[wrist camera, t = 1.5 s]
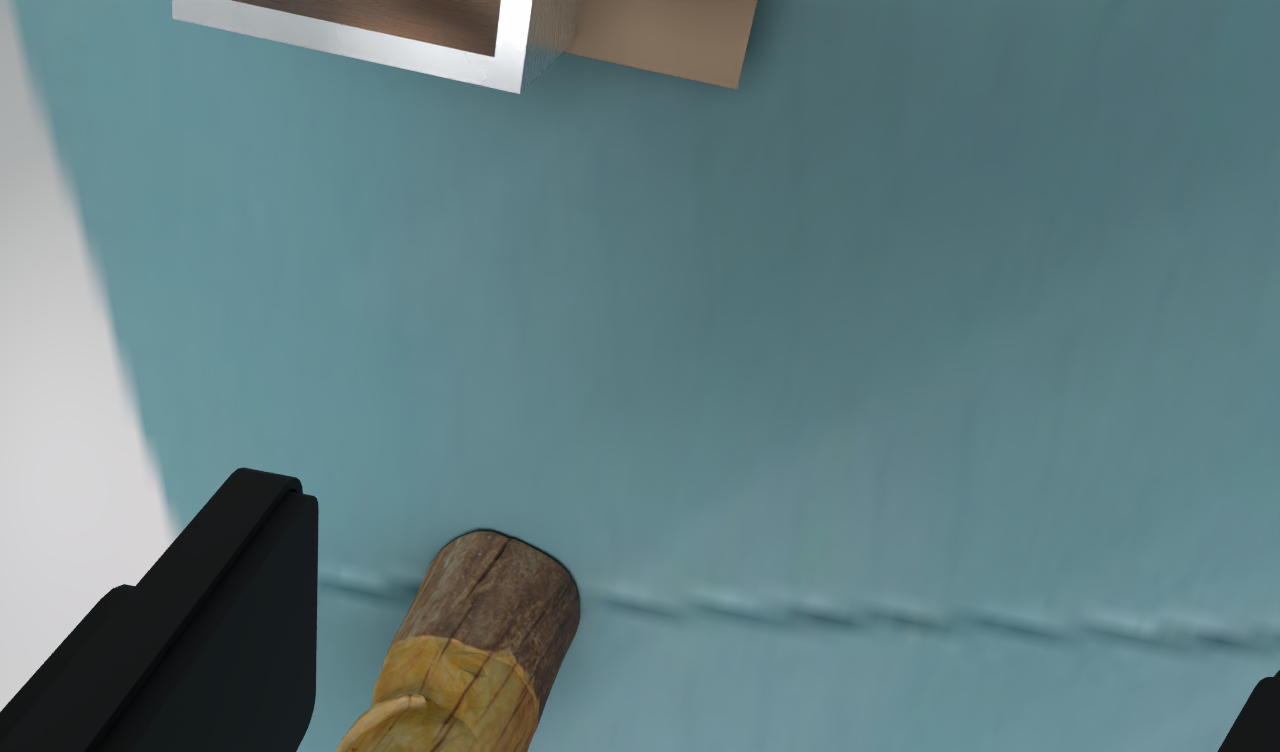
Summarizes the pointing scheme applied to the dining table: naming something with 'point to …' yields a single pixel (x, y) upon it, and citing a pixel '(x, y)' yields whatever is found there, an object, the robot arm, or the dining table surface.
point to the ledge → (669, 36)
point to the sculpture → (473, 652)
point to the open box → (411, 32)
